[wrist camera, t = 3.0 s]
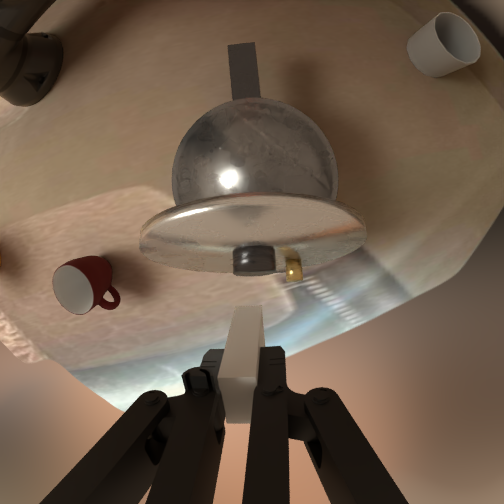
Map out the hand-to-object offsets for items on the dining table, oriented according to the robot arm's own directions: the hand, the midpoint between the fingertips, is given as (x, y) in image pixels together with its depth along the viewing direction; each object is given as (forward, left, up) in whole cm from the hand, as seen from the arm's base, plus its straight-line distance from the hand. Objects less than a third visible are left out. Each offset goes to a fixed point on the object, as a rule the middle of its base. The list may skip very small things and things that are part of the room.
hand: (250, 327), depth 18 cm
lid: (-3, 0, -11) cm, 11 cm away
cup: (-27, +30, -30) cm, 50 cm away
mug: (+6, -27, -30) cm, 40 cm away
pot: (-10, 0, -29) cm, 31 cm away
